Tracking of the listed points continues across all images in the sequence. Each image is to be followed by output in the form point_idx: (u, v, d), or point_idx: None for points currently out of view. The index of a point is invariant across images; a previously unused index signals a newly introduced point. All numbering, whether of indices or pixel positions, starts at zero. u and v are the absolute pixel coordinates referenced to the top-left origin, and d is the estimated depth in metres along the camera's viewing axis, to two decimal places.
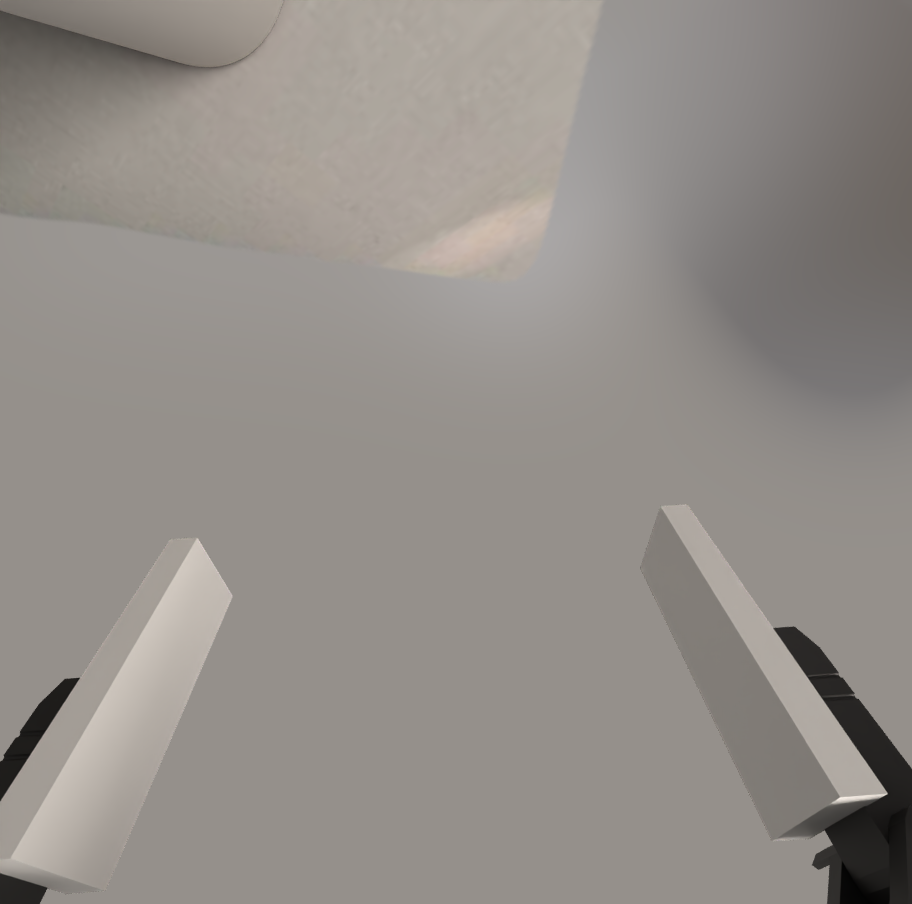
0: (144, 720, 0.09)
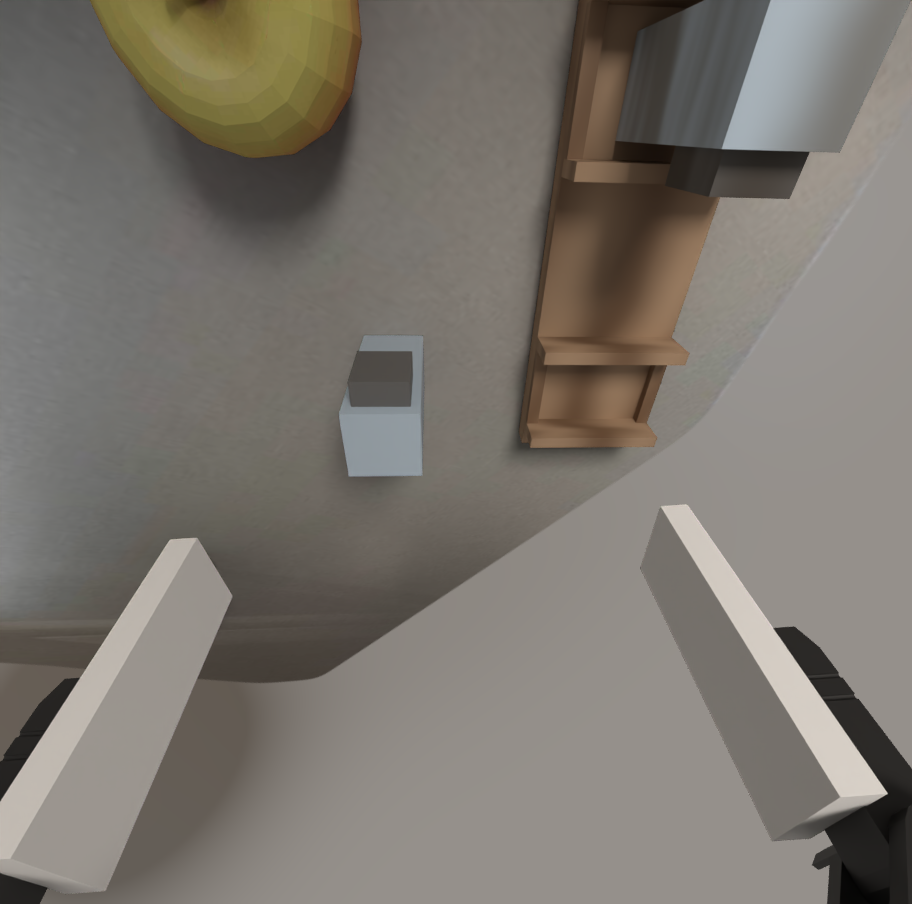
0: (144, 719, 0.09)
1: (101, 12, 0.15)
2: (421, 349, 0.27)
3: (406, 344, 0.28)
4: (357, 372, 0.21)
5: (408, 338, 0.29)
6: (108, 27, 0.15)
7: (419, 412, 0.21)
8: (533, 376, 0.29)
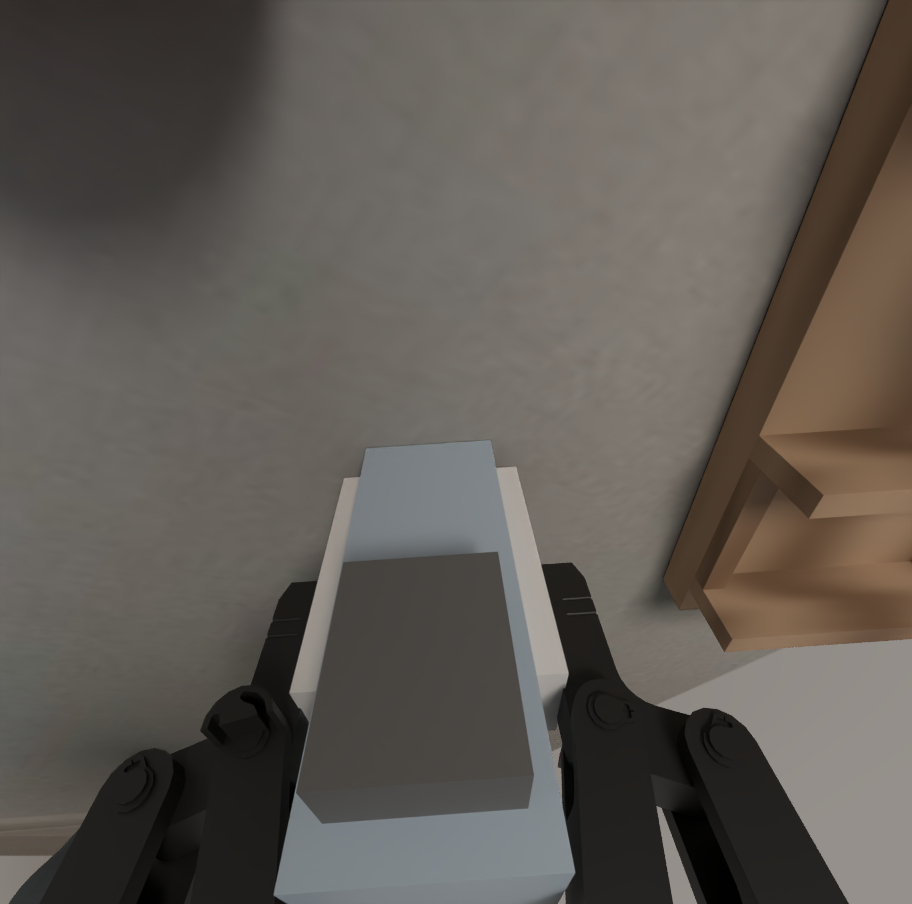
0: None
1: None
2: (497, 487, 0.12)
3: (459, 472, 0.12)
4: (337, 704, 0.06)
5: (461, 451, 0.13)
6: None
7: (568, 856, 0.06)
8: (735, 512, 0.13)
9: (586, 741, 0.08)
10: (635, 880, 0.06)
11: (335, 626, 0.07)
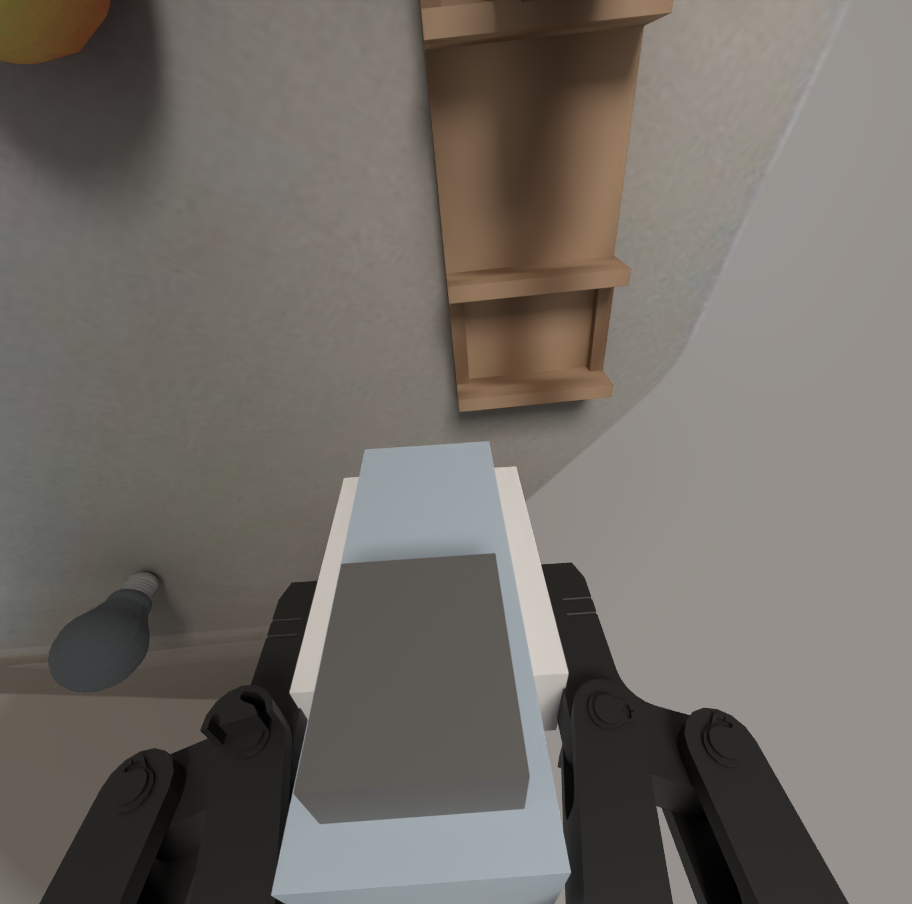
0: None
1: None
2: (495, 488, 0.12)
3: (457, 473, 0.12)
4: (334, 705, 0.06)
5: (459, 452, 0.13)
6: None
7: (564, 856, 0.06)
8: (451, 324, 0.24)
9: (586, 741, 0.08)
10: (635, 880, 0.06)
11: (333, 627, 0.07)
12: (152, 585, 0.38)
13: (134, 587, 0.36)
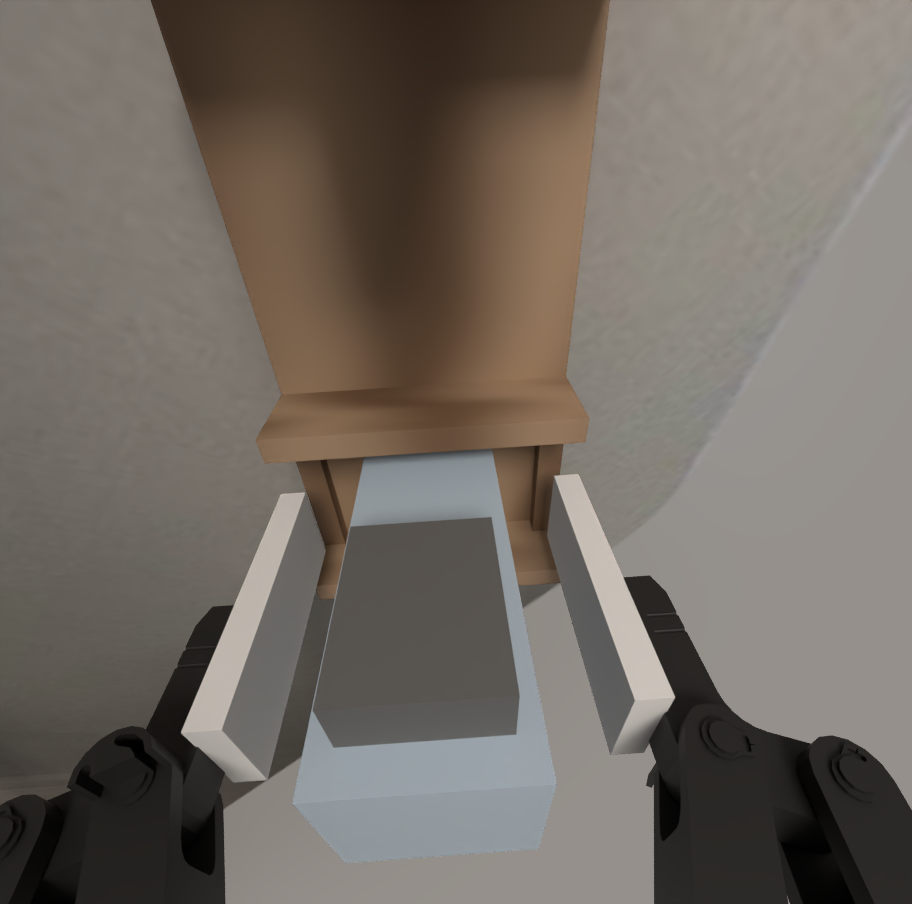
0: (282, 642, 0.11)
1: None
2: (492, 466, 0.13)
3: (457, 453, 0.13)
4: (347, 641, 0.07)
5: None
6: None
7: (550, 772, 0.07)
8: None
9: (699, 764, 0.07)
10: None
11: (344, 579, 0.08)
12: None
13: None
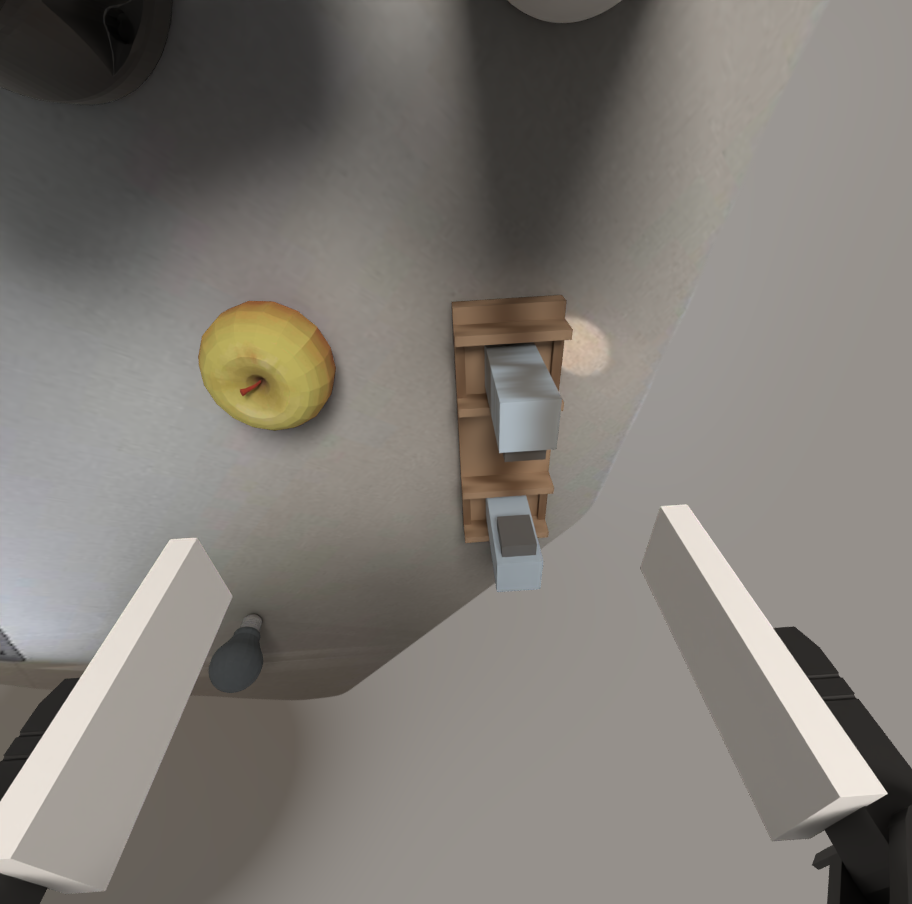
0: (144, 720, 0.09)
1: (213, 397, 0.32)
2: (526, 499, 0.43)
3: None
4: (504, 537, 0.37)
5: None
6: (216, 401, 0.32)
7: (542, 559, 0.37)
8: (462, 499, 0.45)
9: None
10: None
11: (500, 527, 0.38)
12: (259, 623, 0.58)
13: (250, 625, 0.56)
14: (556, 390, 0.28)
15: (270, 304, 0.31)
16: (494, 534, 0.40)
